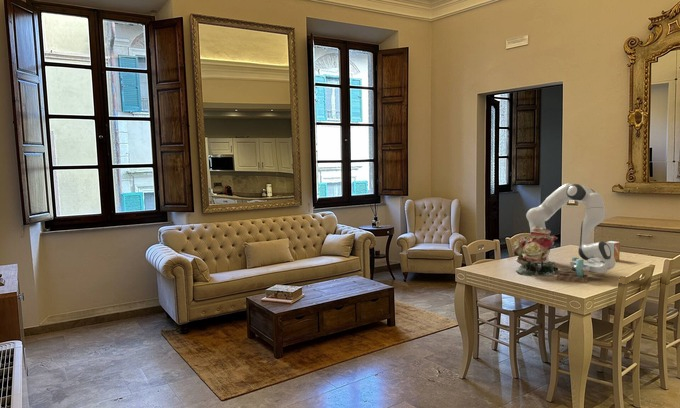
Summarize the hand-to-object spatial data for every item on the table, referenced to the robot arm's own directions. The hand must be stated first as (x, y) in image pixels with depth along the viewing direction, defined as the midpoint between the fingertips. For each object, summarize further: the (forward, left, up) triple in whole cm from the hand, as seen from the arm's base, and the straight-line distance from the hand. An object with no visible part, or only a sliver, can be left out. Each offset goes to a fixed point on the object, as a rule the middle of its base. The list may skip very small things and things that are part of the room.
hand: (578, 268), depth 283 cm
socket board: (-3, +1, -7) cm, 8 cm away
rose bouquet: (-26, +12, -8) cm, 30 cm away
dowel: (+1, +1, -6) cm, 6 cm away
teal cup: (-5, +15, -7) cm, 17 cm away
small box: (+19, +72, -8) cm, 74 cm away
